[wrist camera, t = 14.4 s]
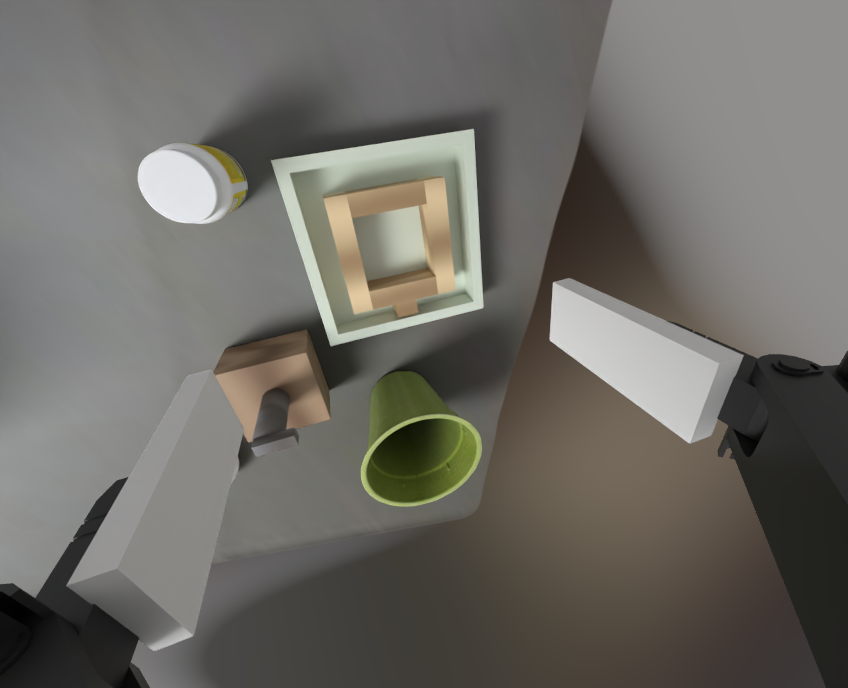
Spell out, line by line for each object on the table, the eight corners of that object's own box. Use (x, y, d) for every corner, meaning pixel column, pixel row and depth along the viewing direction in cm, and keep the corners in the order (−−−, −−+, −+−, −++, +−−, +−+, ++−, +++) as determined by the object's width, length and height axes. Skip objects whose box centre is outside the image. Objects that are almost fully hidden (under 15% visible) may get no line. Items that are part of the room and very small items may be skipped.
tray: (329, 332, 35) (330, 346, 33) (275, 160, 27) (270, 160, 25) (472, 298, 38) (483, 308, 35) (460, 131, 30) (473, 128, 27)
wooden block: (256, 410, 37) (234, 497, 28) (225, 348, 33) (186, 425, 24) (329, 390, 39) (332, 467, 29) (307, 329, 35) (303, 394, 25)
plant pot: (334, 420, 41) (339, 499, 31) (378, 338, 37) (399, 399, 28) (417, 441, 46) (443, 514, 36) (462, 370, 42) (504, 431, 33)
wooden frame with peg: (322, 195, 29) (323, 198, 26) (434, 175, 30) (444, 176, 28) (354, 315, 35) (357, 327, 32) (447, 293, 36) (456, 303, 34)
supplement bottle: (175, 140, 25) (119, 131, 18) (246, 152, 27) (220, 148, 19) (185, 208, 27) (137, 224, 20) (250, 216, 29) (227, 234, 22)
